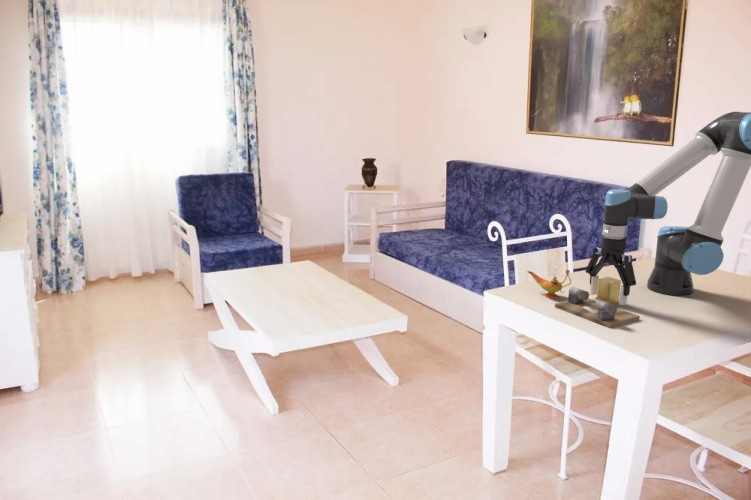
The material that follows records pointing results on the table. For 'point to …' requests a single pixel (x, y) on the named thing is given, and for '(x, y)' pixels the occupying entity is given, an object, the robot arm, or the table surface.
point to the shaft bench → (595, 309)
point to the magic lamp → (550, 284)
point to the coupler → (609, 290)
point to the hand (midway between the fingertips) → (607, 299)
